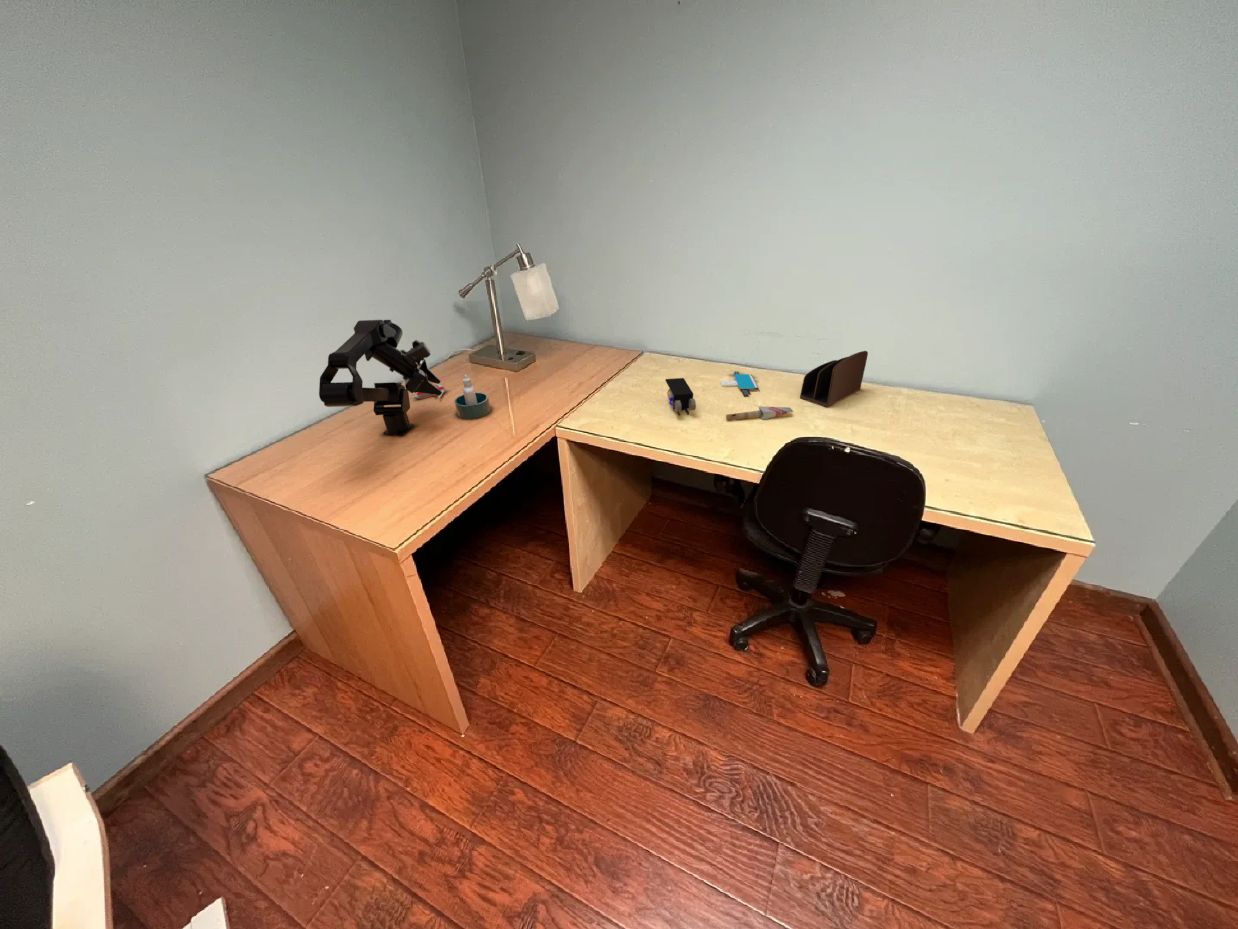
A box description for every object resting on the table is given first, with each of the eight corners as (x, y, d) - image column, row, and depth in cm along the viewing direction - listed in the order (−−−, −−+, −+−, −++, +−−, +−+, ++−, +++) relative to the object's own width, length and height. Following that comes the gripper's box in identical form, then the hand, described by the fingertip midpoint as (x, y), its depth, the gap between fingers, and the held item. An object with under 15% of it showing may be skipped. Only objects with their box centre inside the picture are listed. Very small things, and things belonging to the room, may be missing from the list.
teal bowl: (481, 420, 151) (479, 407, 149) (451, 418, 153) (448, 404, 151) (495, 405, 159) (493, 393, 157) (466, 404, 161) (464, 391, 159)
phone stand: (717, 373, 176) (717, 369, 176) (750, 372, 176) (751, 368, 175) (725, 397, 160) (726, 392, 159) (762, 396, 159) (763, 391, 158)
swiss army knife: (417, 407, 160) (415, 402, 159) (407, 393, 170) (405, 388, 169) (451, 398, 165) (450, 393, 164) (440, 385, 175) (438, 380, 174)
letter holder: (860, 389, 161) (870, 348, 153) (827, 408, 150) (837, 364, 143) (832, 381, 168) (840, 340, 160) (798, 398, 157) (806, 355, 150)
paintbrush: (795, 407, 144) (728, 416, 143) (794, 416, 146) (728, 424, 145) (789, 402, 148) (724, 410, 146) (788, 410, 149) (724, 418, 148)
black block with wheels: (696, 420, 149) (682, 395, 161) (698, 399, 144) (684, 375, 156) (675, 423, 148) (662, 397, 160) (676, 401, 144) (663, 377, 155)
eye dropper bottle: (483, 407, 158) (476, 371, 151) (476, 414, 153) (468, 378, 147) (470, 406, 159) (462, 371, 152) (462, 414, 154) (454, 378, 147)
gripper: (408, 345, 131) (458, 378, 140) (408, 326, 146) (454, 357, 155) (384, 377, 133) (435, 408, 142) (387, 355, 148) (433, 384, 157)
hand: (440, 388), depth 149 cm, fingers open, 9 cm apart
